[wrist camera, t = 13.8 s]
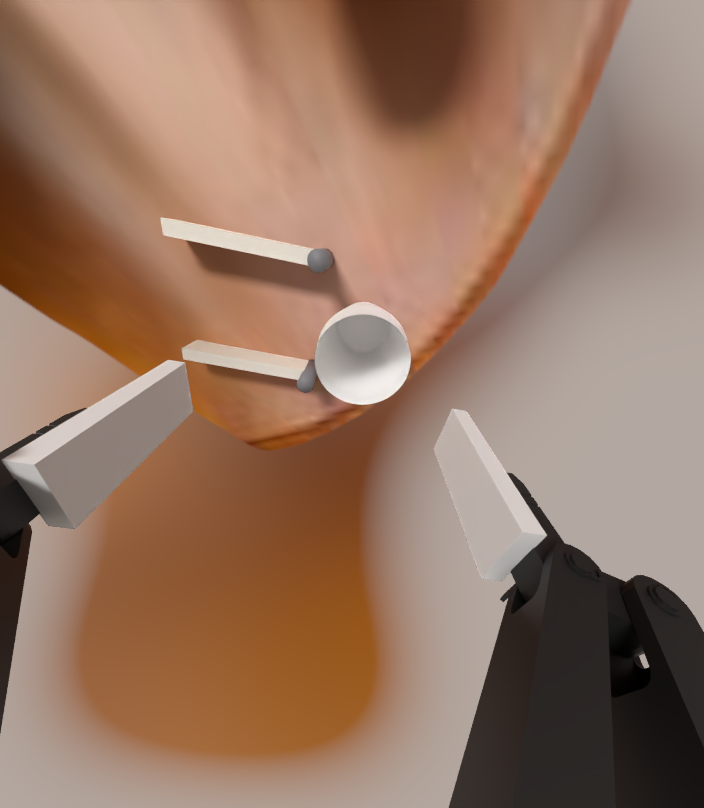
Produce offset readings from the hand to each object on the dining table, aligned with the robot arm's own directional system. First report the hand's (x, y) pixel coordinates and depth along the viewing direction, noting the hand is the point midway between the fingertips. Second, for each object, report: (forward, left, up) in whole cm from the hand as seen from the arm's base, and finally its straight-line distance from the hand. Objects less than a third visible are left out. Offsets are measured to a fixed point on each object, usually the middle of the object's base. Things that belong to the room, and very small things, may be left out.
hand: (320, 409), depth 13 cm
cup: (+3, -2, -23) cm, 23 cm away
